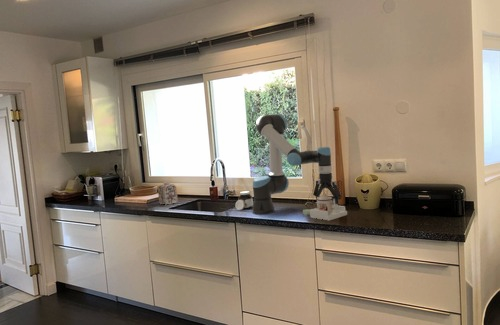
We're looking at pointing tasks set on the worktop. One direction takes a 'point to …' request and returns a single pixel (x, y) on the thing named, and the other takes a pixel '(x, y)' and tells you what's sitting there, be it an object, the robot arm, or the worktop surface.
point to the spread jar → (244, 201)
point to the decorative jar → (167, 193)
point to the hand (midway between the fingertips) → (327, 208)
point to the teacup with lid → (325, 203)
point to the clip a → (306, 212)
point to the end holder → (326, 216)
